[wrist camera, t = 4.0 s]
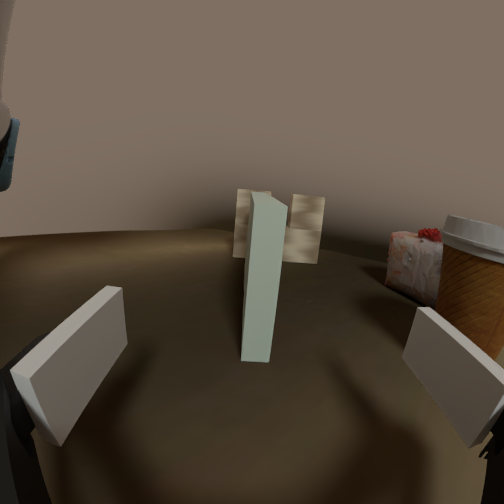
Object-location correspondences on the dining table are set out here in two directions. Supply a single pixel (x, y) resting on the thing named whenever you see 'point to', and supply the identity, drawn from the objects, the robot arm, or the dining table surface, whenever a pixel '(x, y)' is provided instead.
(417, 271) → the food item
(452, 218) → the disposable coffee cup
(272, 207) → the sage slotted plate
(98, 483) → the dining table surface
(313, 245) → the birch slotted plate
